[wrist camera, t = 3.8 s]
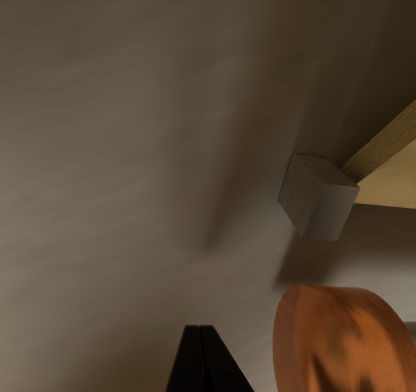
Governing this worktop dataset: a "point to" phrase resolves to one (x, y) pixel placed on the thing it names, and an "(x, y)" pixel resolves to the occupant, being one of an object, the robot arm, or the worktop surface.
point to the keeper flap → (387, 164)
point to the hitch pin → (341, 342)
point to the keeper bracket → (317, 197)
